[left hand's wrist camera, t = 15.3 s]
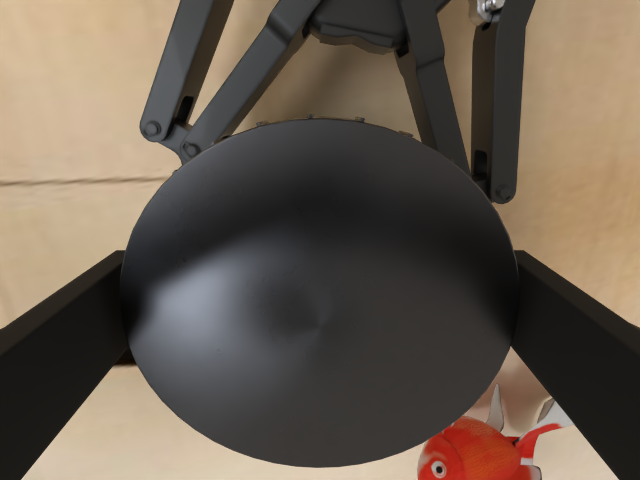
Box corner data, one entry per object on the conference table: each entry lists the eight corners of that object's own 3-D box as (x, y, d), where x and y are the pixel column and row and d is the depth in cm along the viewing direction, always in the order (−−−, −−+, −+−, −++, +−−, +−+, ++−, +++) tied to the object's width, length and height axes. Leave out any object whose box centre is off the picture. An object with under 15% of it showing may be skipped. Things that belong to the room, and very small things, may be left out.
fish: (420, 364, 24) (537, 540, 17) (563, 316, 31) (689, 432, 24) (376, 432, 31) (449, 578, 24) (501, 381, 37) (586, 486, 31)
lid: (522, 373, 13) (552, 412, 11) (240, 457, 14) (230, 503, 13) (442, 46, 9) (468, 31, 8) (75, 202, 11) (29, 219, 9)
